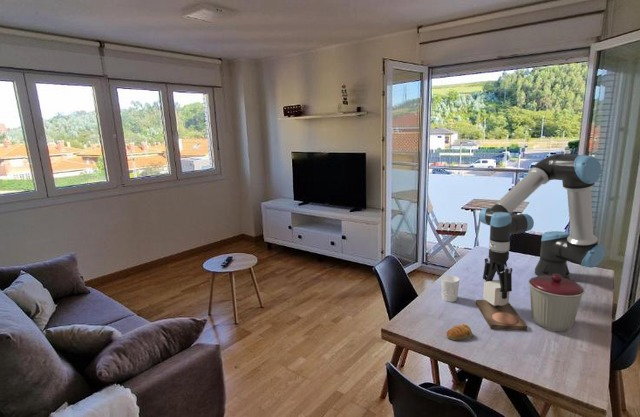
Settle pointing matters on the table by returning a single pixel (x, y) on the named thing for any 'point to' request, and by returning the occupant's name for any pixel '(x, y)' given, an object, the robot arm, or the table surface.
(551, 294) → the canister
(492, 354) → the table surface
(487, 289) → the matte off-white cube
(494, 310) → the board
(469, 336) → the pastry
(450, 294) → the white cup
